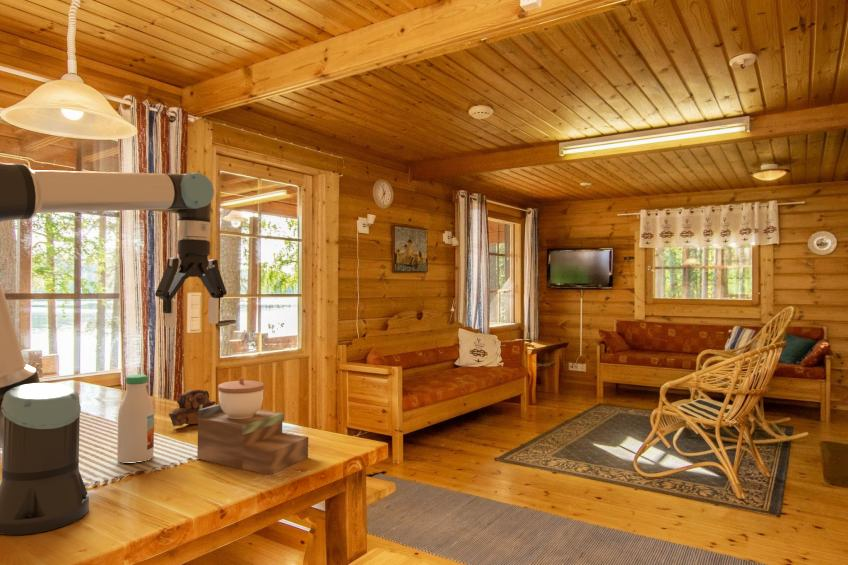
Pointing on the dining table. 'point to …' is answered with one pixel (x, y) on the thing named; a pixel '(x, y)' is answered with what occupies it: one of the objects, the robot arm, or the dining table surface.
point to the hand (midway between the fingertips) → (192, 325)
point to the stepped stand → (248, 441)
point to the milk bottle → (135, 422)
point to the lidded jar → (240, 398)
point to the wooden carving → (190, 407)
